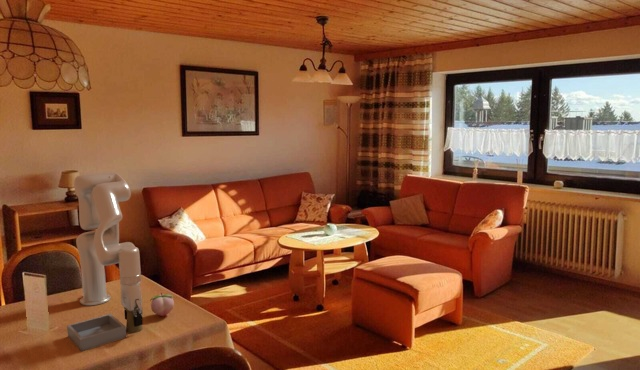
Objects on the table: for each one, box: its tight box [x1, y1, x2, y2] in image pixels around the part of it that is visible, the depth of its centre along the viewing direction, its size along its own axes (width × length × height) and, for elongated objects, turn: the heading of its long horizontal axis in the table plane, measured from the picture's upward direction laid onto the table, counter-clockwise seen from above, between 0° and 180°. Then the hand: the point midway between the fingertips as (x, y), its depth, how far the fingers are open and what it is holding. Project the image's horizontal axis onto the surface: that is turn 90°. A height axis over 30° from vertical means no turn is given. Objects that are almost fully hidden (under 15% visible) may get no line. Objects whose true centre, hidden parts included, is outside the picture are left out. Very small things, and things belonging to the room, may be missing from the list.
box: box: [66, 313, 127, 352], centre depth 189 cm, size 16×16×4 cm
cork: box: [125, 307, 143, 334], centre depth 195 cm, size 6×6×11 cm
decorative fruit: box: [150, 292, 175, 317], centre depth 208 cm, size 9×8×10 cm
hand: (133, 321), depth 195 cm, fingers open, 8 cm apart
